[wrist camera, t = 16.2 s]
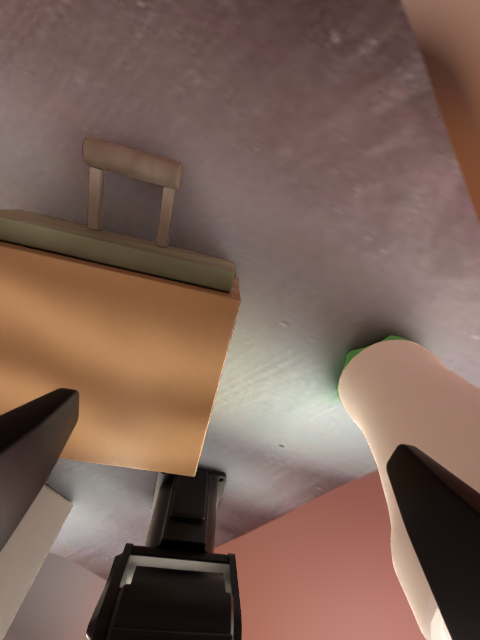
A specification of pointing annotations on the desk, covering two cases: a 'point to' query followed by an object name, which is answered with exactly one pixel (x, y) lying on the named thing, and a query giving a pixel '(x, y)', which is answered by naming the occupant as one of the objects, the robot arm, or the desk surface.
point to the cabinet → (115, 354)
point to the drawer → (112, 245)
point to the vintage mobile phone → (29, 551)
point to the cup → (413, 438)
